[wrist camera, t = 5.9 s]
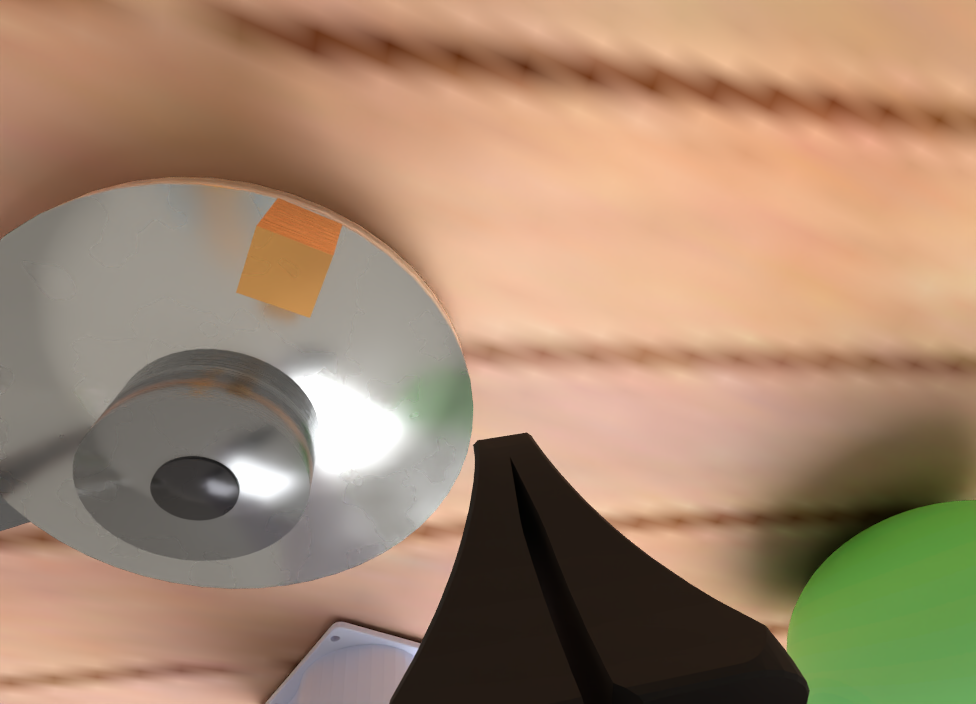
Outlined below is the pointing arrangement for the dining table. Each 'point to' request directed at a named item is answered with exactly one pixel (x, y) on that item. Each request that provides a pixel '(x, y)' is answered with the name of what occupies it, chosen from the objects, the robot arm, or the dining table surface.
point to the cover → (201, 457)
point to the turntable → (239, 328)
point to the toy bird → (893, 613)
